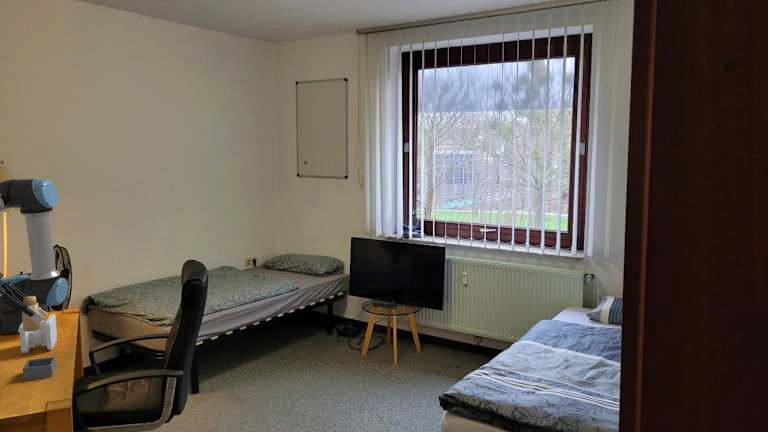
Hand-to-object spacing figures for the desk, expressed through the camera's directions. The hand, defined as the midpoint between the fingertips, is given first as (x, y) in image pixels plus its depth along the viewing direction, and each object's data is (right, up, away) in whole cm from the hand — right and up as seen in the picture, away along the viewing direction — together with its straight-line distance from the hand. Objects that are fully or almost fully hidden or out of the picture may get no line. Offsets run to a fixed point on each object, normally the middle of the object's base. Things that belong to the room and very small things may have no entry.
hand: (43, 318), depth 203 cm
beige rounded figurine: (-3, -4, -1) cm, 5 cm away
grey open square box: (+2, -18, -6) cm, 19 cm away
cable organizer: (-13, -15, +20) cm, 29 cm away
